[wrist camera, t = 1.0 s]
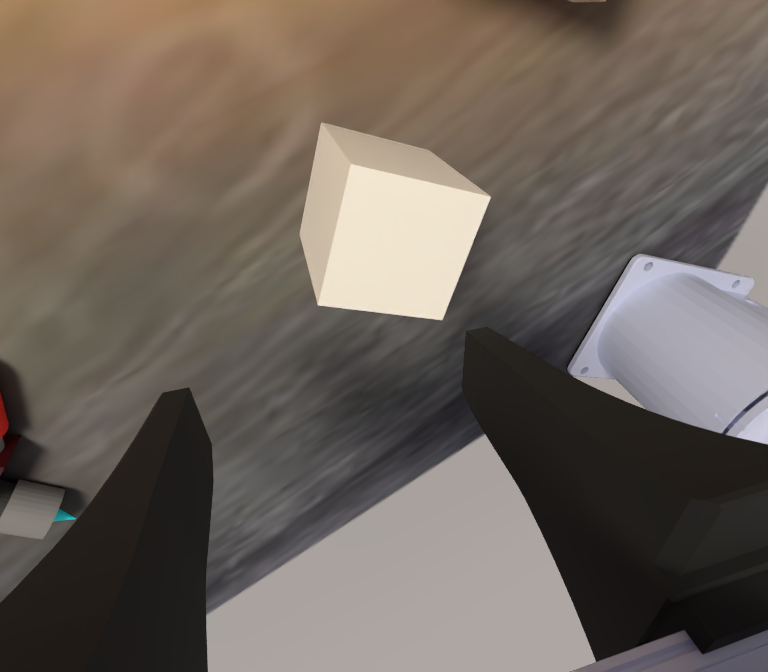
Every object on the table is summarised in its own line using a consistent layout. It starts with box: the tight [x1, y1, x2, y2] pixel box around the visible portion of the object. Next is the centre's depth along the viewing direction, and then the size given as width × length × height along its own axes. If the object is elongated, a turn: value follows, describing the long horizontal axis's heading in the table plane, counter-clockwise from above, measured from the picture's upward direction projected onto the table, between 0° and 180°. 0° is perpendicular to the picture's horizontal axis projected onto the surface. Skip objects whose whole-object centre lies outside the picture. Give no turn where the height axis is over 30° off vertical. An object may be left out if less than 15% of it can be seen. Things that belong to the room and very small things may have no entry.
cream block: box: [300, 122, 491, 320], centre depth 17 cm, size 4×4×6 cm
